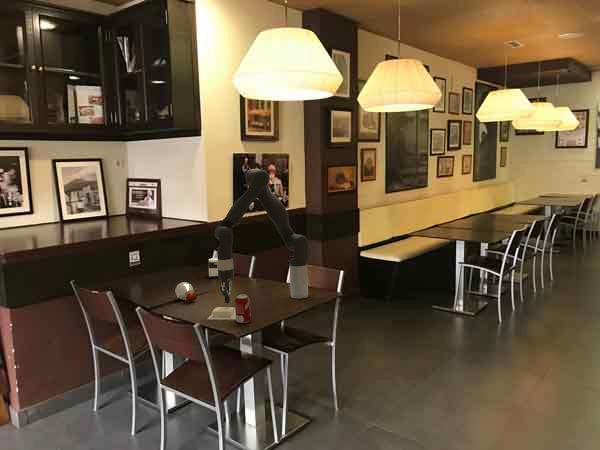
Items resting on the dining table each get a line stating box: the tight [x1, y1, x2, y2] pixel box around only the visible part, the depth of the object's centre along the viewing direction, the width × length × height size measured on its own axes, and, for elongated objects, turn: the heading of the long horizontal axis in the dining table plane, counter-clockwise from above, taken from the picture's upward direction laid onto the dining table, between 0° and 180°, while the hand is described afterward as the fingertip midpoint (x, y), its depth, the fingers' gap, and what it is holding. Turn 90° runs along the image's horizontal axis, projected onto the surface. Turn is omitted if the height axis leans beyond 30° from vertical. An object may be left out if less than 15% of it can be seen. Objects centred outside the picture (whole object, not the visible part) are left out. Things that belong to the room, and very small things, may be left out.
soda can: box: [234, 294, 252, 324], centre depth 222 cm, size 7×7×12 cm
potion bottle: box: [174, 281, 197, 304], centre depth 261 cm, size 9×10×15 cm
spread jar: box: [208, 257, 219, 279], centre depth 310 cm, size 12×11×12 cm
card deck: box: [211, 306, 235, 317], centre depth 233 cm, size 2×9×6 cm
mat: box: [207, 307, 236, 321], centre depth 234 cm, size 16×14×1 cm
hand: (227, 302), depth 236 cm, fingers closed
